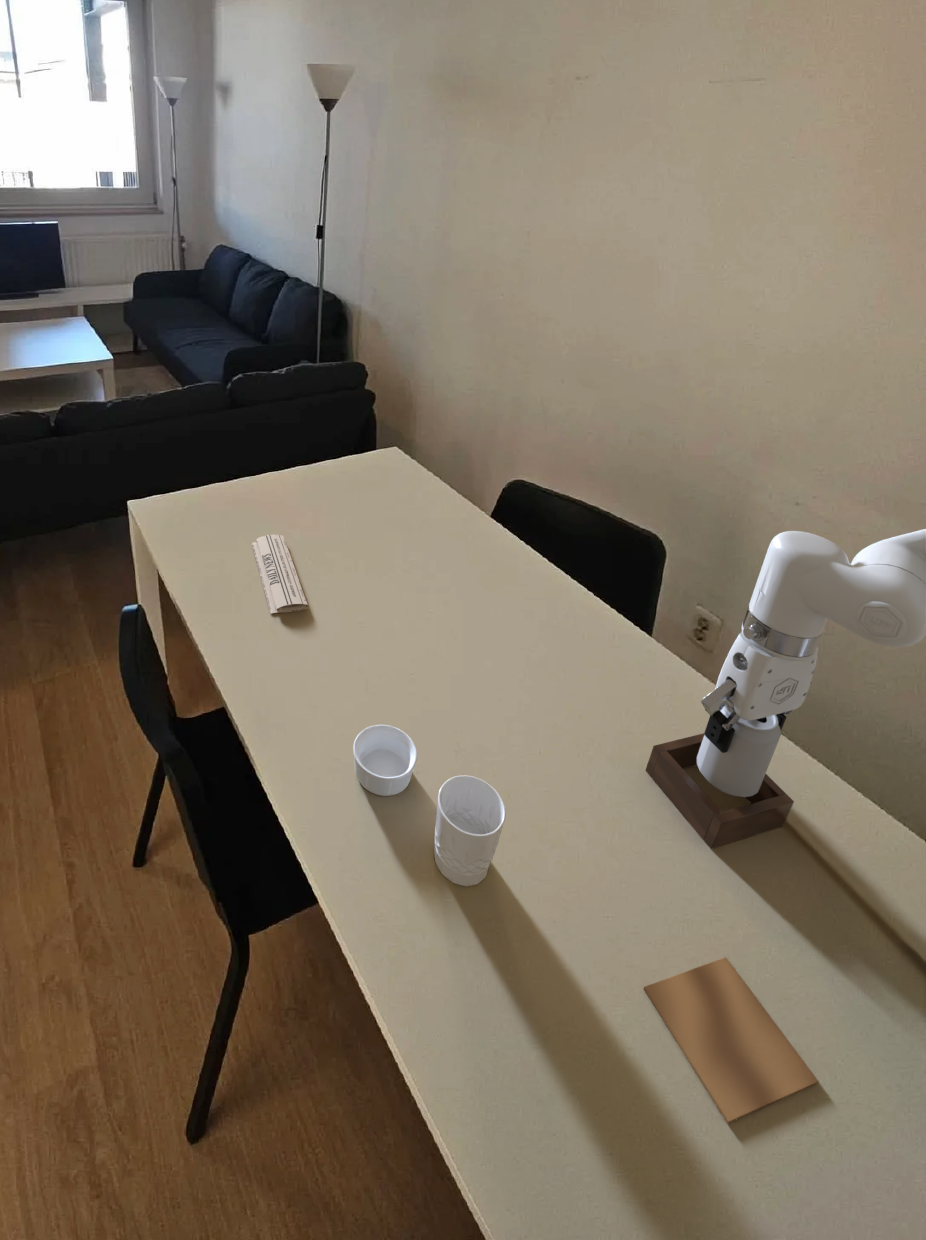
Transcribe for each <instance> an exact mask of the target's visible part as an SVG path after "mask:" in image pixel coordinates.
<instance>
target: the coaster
mask: <svg viewBox="0 0 926 1240" xmlns="http://www.w3.org/2000/svg"><path fill="white" fill-rule="evenodd" d="M642 989H643V991H644V993H645V994H646V996H647V997H648V998H649V1000H650V1002H651V1004H652V1005H653V1007H654V1008H655V1011H657V1013H658V1015H659V1016H660V1018H661V1020H662V1021H663V1023H664V1025H665V1026H666V1028H667V1029H668V1031H669V1033H670V1034H671V1036H672V1037H673V1039H674V1040H675V1042H676V1044H677V1046H678V1047H679V1048H680V1050H681V1052H682V1054H683V1055H684V1056H685V1058H686V1060H687V1062H688V1063H689V1065H690V1067H691V1068H692V1070H693V1072H694V1073H695V1074H696V1076H697V1077H698V1079H699V1081H700V1082H701V1084H702V1087H704V1089H705V1090H706V1093H707V1094H708V1095H709V1097H710V1099H711V1100H712V1101H713V1103H714V1105H715V1104H716V1105H715V1107H716V1108H717V1109H718V1112H719V1113H720V1115H721V1116H722V1115H723V1116H722V1118H723V1117H724V1118H723V1119H724V1121H725V1122H726V1121H727V1122H726V1124H727V1123H729V1124H731V1123H732V1122H731V1121H733V1122H735V1121H737V1120H736V1119H738V1120H740V1119H742V1118H744V1117H746V1116H749V1115H751V1114H754V1113H755V1112H758V1111H759V1110H762V1109H764V1108H767V1107H768V1106H771V1105H773V1104H775V1103H778V1102H779V1101H782V1100H784V1099H786V1098H788V1097H790V1096H793V1095H795V1094H797V1093H800V1092H802V1091H804V1090H807V1089H808V1088H811V1087H813V1086H815V1085H817V1084H819V1080H818V1079H817V1077H816V1076H815V1074H814V1073H813V1072H812V1071H811V1069H810V1068H809V1067H808V1065H807V1064H806V1062H805V1061H804V1060H803V1058H802V1057H801V1056H800V1054H799V1053H798V1052H797V1050H796V1049H795V1048H794V1047H793V1045H792V1044H791V1043H790V1041H789V1040H788V1038H787V1037H786V1036H785V1034H784V1033H783V1031H782V1030H781V1029H780V1028H779V1026H778V1025H777V1023H776V1022H775V1021H774V1020H773V1018H772V1017H771V1015H770V1014H769V1013H768V1011H767V1010H766V1009H765V1008H764V1006H763V1005H762V1003H761V1002H760V1001H759V999H758V998H757V996H755V994H754V992H753V991H752V990H751V989H750V987H749V986H748V985H747V984H746V982H745V980H743V978H742V977H741V975H740V974H739V972H738V971H737V970H736V968H735V967H734V965H733V964H732V963H731V962H730V961H729V959H728V958H727V957H726V956H725V957H721V958H719V959H716V960H714V961H712V962H708V963H705V964H702V965H700V966H697V967H695V968H691V969H689V970H686V971H683V972H680V973H678V974H675V975H672V976H670V977H667V978H665V979H662V980H659V981H656V982H654V983H651V984H648V985H645V986H643V988H642ZM748 1114H749V1115H748ZM745 1115H746V1116H745ZM743 1116H744V1117H743ZM741 1117H742V1118H741ZM739 1118H740V1119H739ZM734 1120H735V1121H734ZM730 1122H731V1123H730Z"/></svg>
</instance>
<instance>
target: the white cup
mask: <svg viewBox="0 0 926 1240" xmlns="http://www.w3.org/2000/svg"><path fill="white" fill-rule="evenodd" d="M506 814H507V811H506V807H505V803H504V800H503V799H502V797H501V795H500V793H499V791H497V790H496V789H495V787H493V786H492V785H491V784H489V783H488V782H487V781H485V780H483V779H481V778H479V777H476V776H472V775H463V774H462V775H456V776H453V777H450V778H448V779H447V780H446V781H445V782H444V783H442V785H441V786H440V788H439V791H438V795H437V805H436V816H435V827H434V845H433V854H434V855H433V856H434V862H435V865H436V866H437V868H438V870H439V872H440V873H441V875H442V876H444V877H445V878H446V879H448V881H450V882H451V883H453V884H455V885H459V886H462V887H470V886H476V885H479V884H480V883H481V882H482V881H483V880H484V879H485V878H486V877H487V875H488V871H489V867H490V864H491V863H492V861H493V859H494V856H495V853H496V850H497V847H498V844H499V841H500V837H501V834H502V832H503V831H502V830H503V828H504V825H505V821H506Z"/></svg>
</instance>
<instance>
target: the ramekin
mask: <svg viewBox="0 0 926 1240" xmlns="http://www.w3.org/2000/svg"><path fill="white" fill-rule="evenodd" d="M352 752H353V757H354V772H355V775H356V778H357V780H358V781H359V784H360V785H361V786H362V787H363V788H364V789H365V790H366V791H368V792H370V793H372V794H374V795H377V796H382V797H390V796H395V795H398V794H401V793H402V792H404V791H405V789H406V788H407V787H408V786H409V784H410V782H411V779H412V776H413V772H414V769H415V767H416V764H417V761H418V750H417V748H416V744H415V742H414V740H413V739H412V738H411V737H410V736H409V734H407V732H405V731H403V730H402V729H400V728H398V727H395V726H393V725H388V724H375V725H374V724H373V725H369V726H367V727H366V728H364V729H362V730H361V731H360V732H359V733H358V734H357V736H356V737H355V739H354V742H353V745H352Z"/></svg>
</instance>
